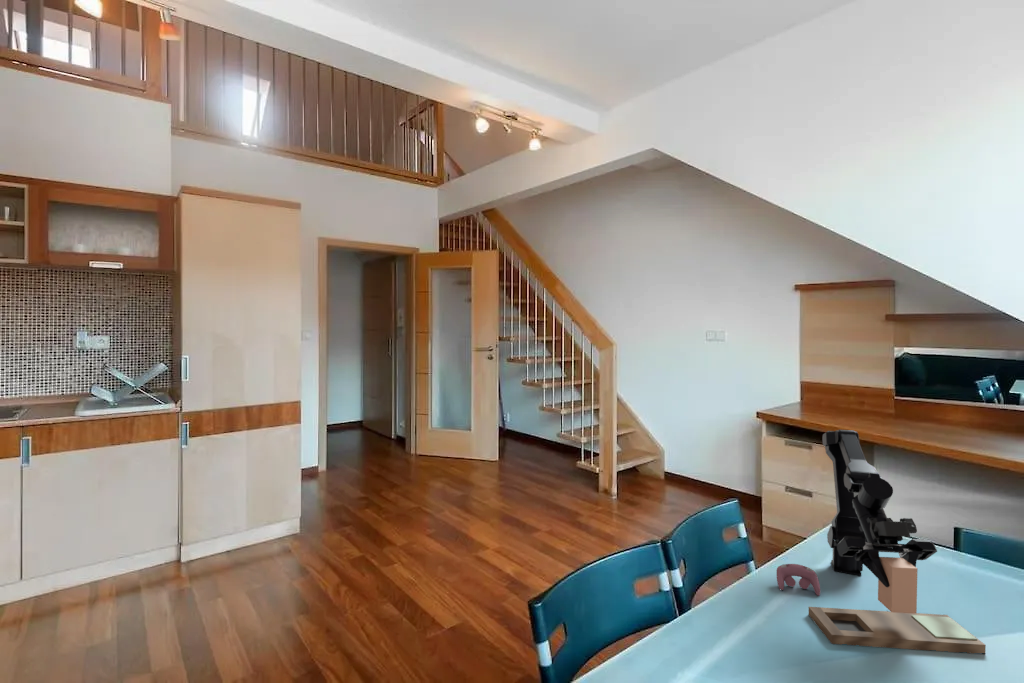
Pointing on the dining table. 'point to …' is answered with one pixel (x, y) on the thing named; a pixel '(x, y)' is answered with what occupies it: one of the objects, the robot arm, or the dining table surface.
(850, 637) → the board
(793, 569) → the video game controller
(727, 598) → the dining table surface
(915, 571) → the block
